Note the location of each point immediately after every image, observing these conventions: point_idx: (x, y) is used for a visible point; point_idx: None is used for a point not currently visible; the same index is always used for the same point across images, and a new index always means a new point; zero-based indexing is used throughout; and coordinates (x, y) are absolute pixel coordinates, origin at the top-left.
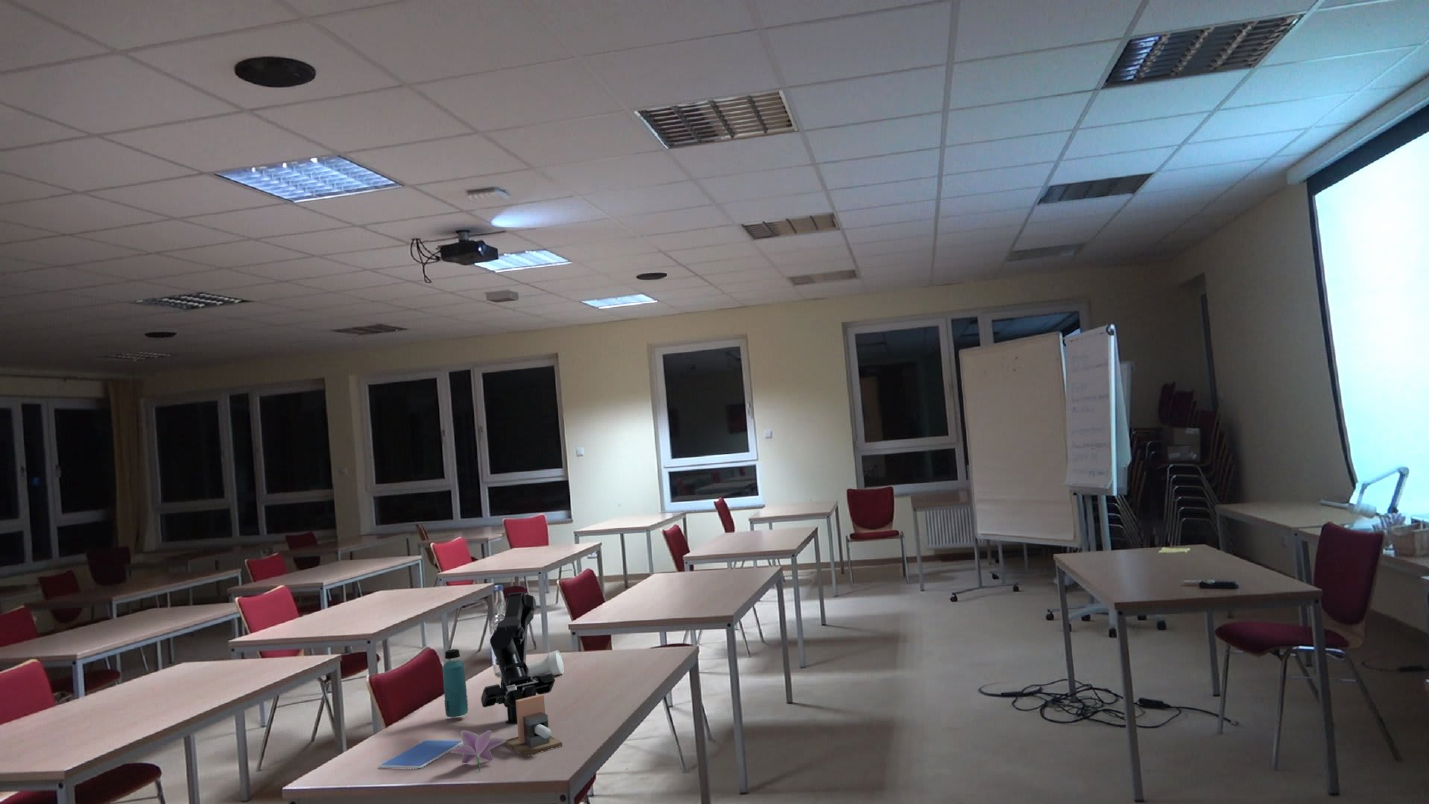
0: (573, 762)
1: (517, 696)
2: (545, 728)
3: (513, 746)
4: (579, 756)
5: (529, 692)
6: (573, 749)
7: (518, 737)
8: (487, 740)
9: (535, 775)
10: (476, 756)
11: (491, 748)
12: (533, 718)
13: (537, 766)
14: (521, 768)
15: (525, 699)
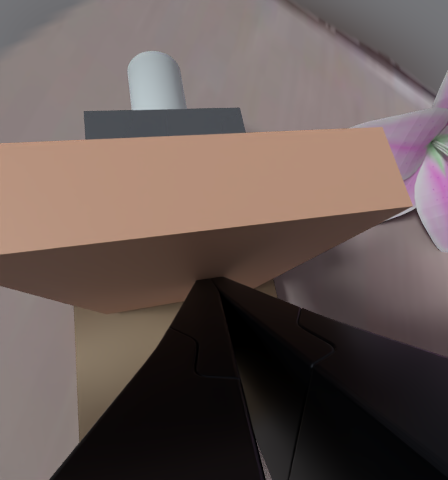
0: (114, 13)
1: (405, 355)
2: (156, 53)
3: (273, 286)
4: (72, 42)
5: (139, 432)
6: (54, 118)
7: (257, 286)
8: (439, 107)
9: (245, 10)
10: (424, 217)
11: None
12: (205, 108)
13: (224, 62)
14: (272, 82)
15: (280, 140)
